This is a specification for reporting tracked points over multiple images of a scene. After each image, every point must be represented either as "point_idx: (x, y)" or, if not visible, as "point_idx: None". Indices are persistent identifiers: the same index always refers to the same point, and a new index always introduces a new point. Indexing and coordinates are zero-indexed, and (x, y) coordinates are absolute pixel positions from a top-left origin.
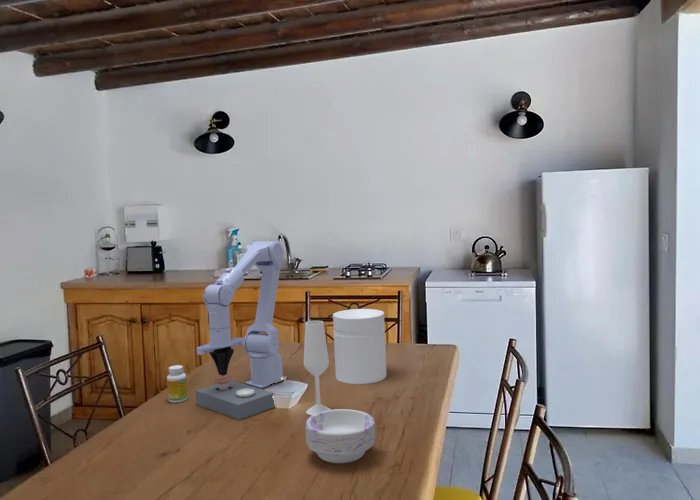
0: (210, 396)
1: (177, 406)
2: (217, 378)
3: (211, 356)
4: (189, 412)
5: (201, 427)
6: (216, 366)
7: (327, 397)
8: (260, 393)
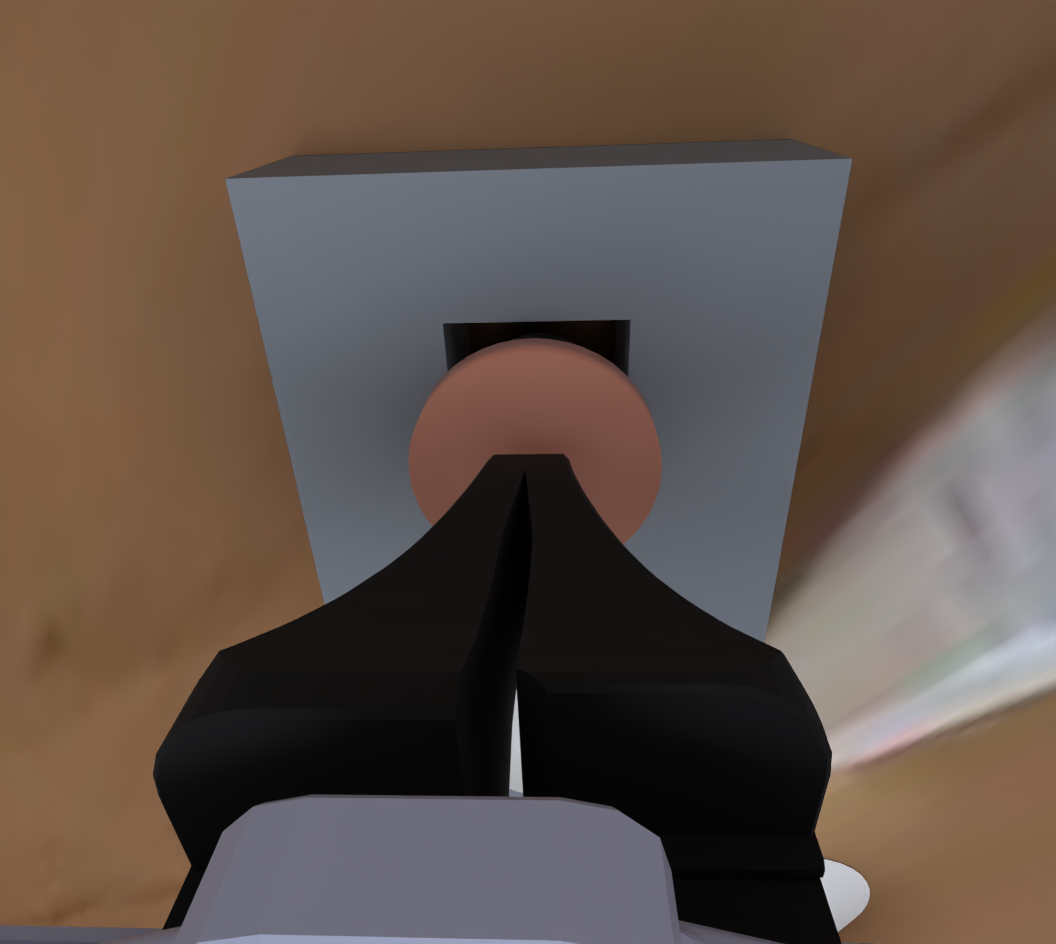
0: (301, 492)
1: (85, 13)
2: (467, 427)
3: (300, 626)
4: (153, 320)
5: (142, 646)
6: (447, 515)
7: (1048, 821)
8: None
